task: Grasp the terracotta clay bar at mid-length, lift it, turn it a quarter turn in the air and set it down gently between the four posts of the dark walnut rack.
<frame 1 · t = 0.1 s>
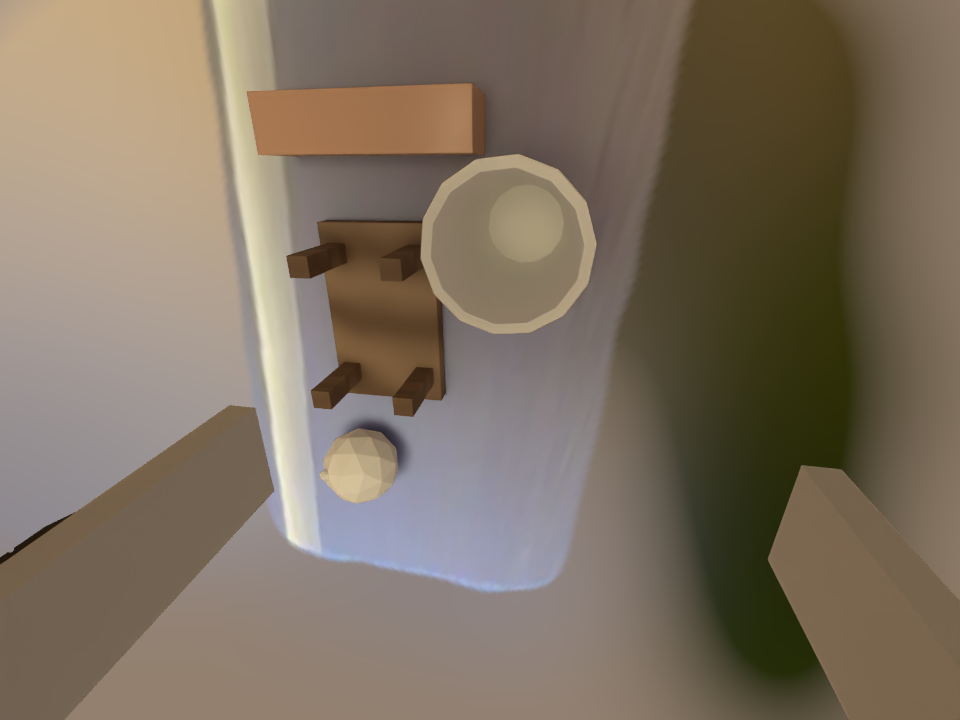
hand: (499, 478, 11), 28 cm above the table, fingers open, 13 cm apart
clay bar: (385, 127, 35), on the table
rack: (389, 311, 40), on the table
cream rounded egg shape: (376, 444, 47), on the table
foam cup: (526, 223, 35), on the table
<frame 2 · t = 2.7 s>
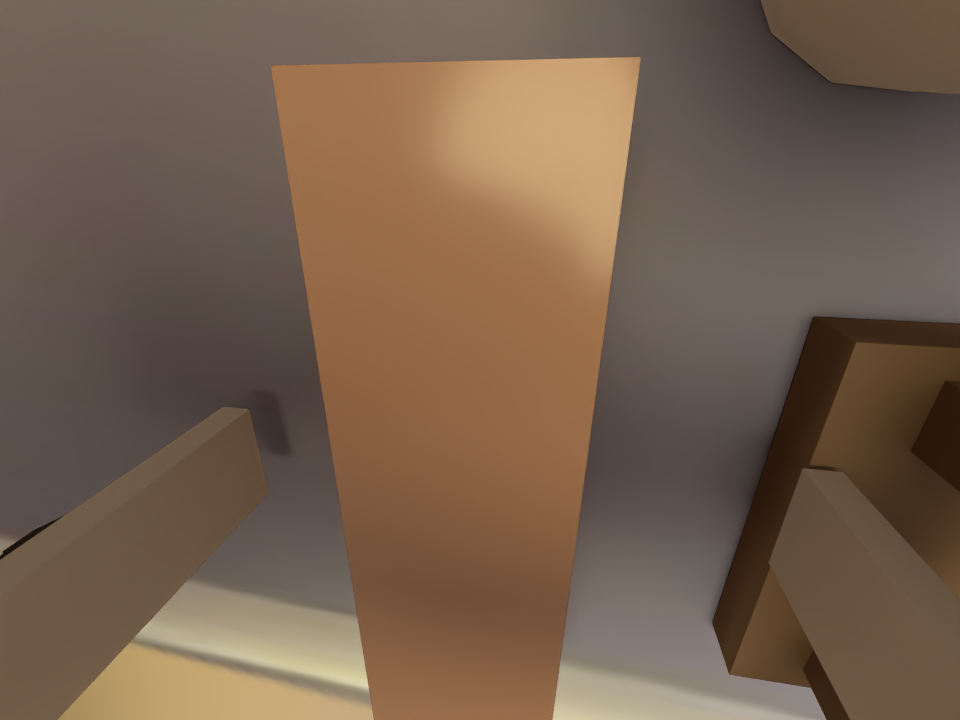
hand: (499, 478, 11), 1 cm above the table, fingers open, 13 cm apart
clay bar: (492, 434, 12), on the table
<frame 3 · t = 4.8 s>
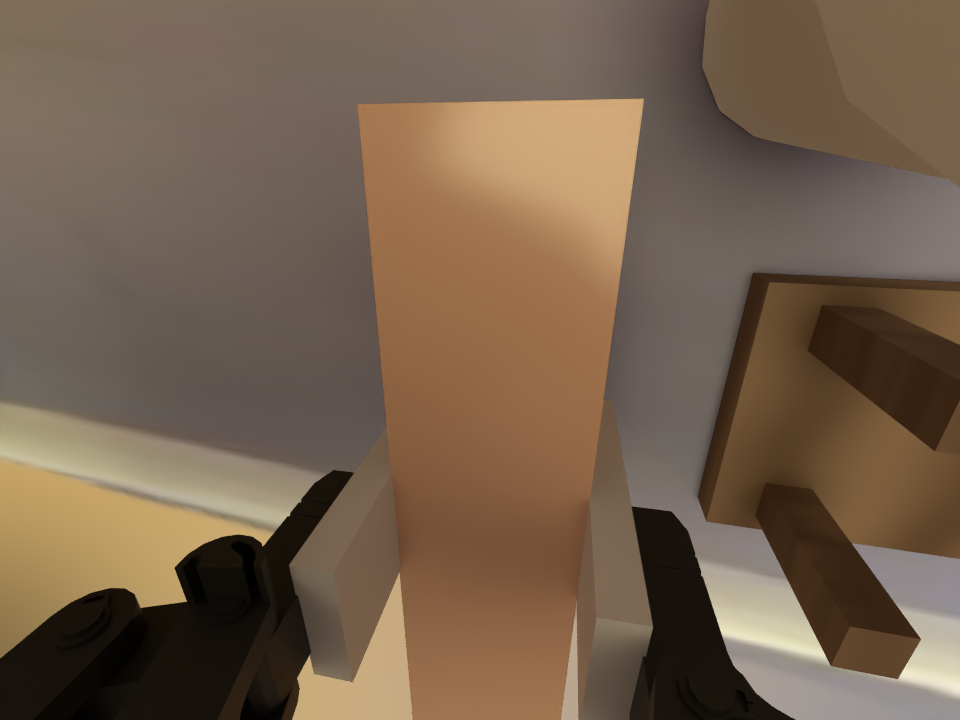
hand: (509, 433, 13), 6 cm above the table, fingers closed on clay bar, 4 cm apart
clay bar: (513, 418, 14), point 5 cm above the table, touching gripper
foam cup: (816, 23, 13), on the table
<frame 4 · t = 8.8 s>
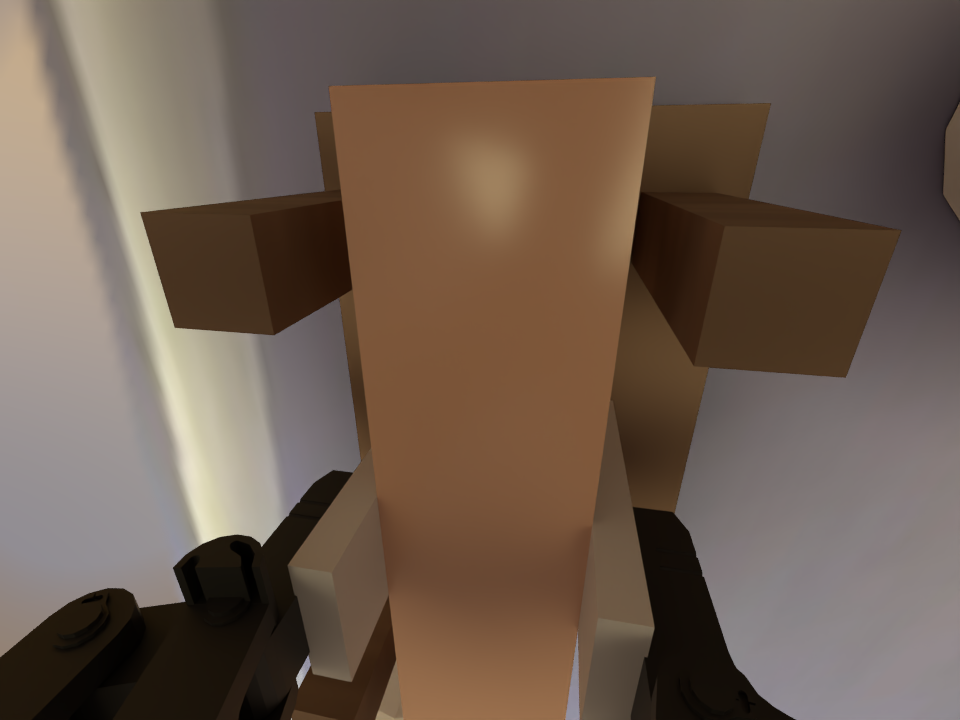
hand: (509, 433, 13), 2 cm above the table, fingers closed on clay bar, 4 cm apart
clay bar: (511, 425, 13), point 1 cm above the table, touching gripper, rack
rack: (517, 395, 14), on the table
cream rounded egg shape: (444, 661, 21), on the table
when the fingers open (2 cm above the table, at t = 9.6 s): clay bar stays where it is, resting on rack.
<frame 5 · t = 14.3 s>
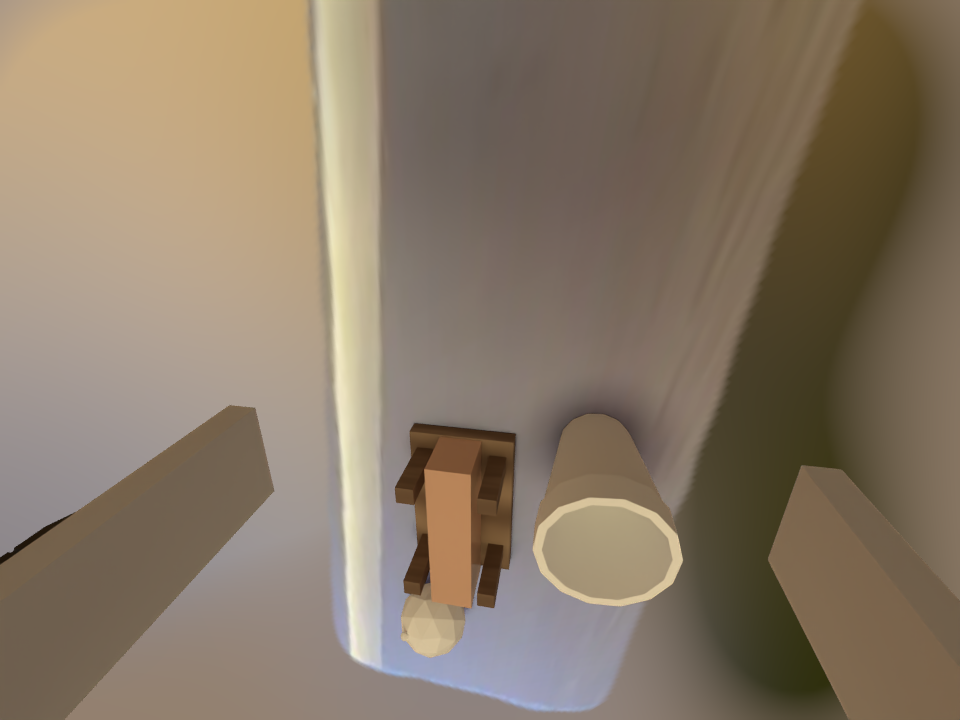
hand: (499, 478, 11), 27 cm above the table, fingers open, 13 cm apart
clay bar: (461, 505, 45), point 1 cm above the table, touching rack
rack: (464, 494, 46), on the table
cream rounded egg shape: (442, 589, 52), on the table
foam cup: (594, 441, 41), on the table
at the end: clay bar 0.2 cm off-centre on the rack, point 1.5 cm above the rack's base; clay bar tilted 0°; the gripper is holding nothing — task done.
